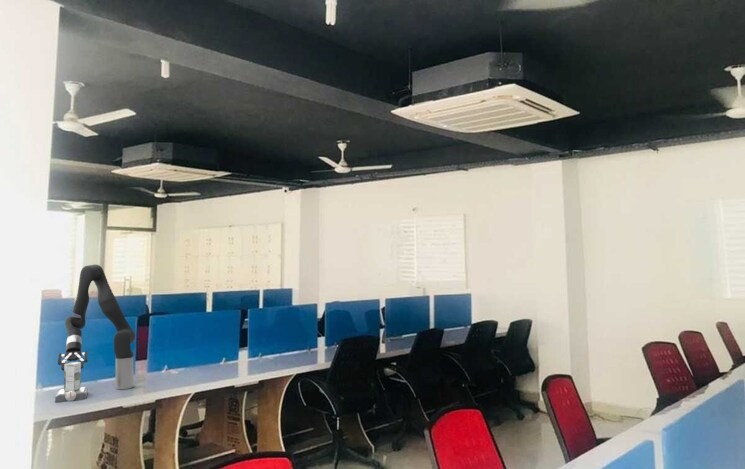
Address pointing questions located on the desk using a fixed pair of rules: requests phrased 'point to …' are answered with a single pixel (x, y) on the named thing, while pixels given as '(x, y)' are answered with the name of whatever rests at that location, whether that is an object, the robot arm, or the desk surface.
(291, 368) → the desk surface
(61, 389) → the scale pan
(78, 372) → the syrup box
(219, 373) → the desk surface
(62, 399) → the scale base
